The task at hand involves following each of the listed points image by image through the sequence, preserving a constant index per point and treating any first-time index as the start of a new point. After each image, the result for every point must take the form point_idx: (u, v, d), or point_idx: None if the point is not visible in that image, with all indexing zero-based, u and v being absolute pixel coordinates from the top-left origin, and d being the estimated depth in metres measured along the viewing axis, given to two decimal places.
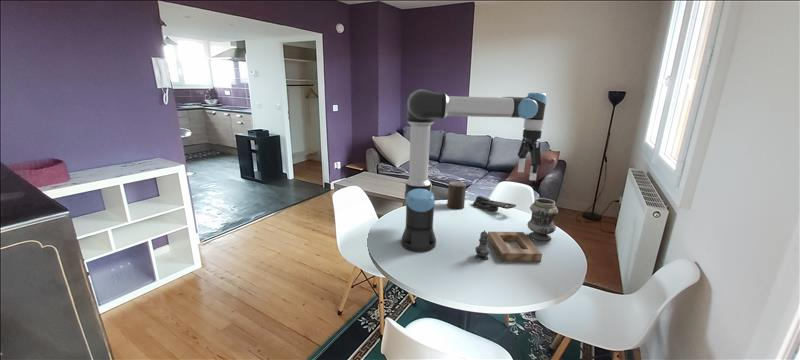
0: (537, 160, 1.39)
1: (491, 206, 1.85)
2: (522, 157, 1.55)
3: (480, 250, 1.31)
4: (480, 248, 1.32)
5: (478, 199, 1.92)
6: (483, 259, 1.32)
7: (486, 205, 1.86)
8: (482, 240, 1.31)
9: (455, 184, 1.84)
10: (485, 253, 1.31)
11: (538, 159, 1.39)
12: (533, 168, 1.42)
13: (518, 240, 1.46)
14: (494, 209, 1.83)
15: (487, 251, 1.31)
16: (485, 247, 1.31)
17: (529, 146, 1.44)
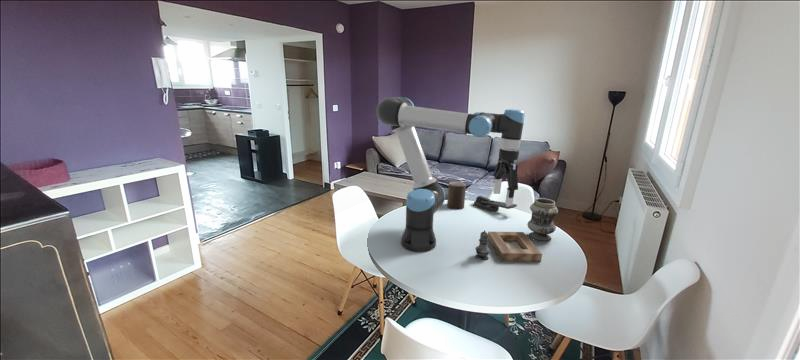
0: (514, 184, 1.26)
1: (492, 206, 1.85)
2: (498, 178, 1.43)
3: (480, 250, 1.31)
4: (480, 248, 1.32)
5: (478, 199, 1.92)
6: (483, 259, 1.32)
7: (487, 205, 1.86)
8: (482, 240, 1.31)
9: (455, 184, 1.84)
10: (485, 253, 1.31)
11: (515, 183, 1.27)
12: (509, 192, 1.29)
13: (518, 240, 1.46)
14: (495, 209, 1.83)
15: (487, 251, 1.31)
16: (485, 247, 1.31)
17: (505, 168, 1.31)
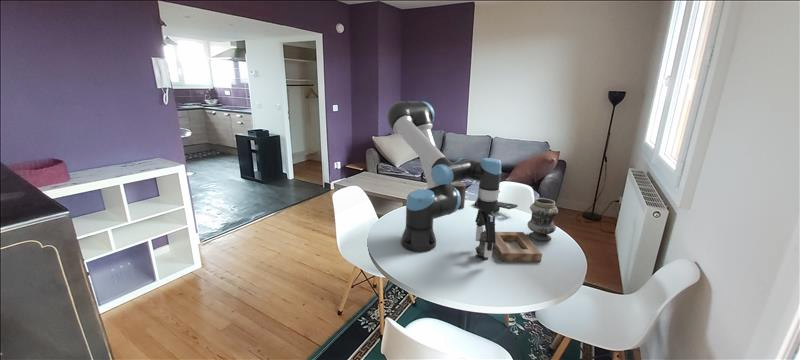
0: (491, 237, 1.21)
1: None
2: (480, 225, 1.38)
3: (480, 250, 1.31)
4: (480, 248, 1.32)
5: None
6: (483, 259, 1.32)
7: None
8: (482, 240, 1.31)
9: (455, 184, 1.84)
10: None
11: (492, 236, 1.21)
12: (487, 245, 1.24)
13: (518, 240, 1.46)
14: None
15: None
16: None
17: (484, 218, 1.26)
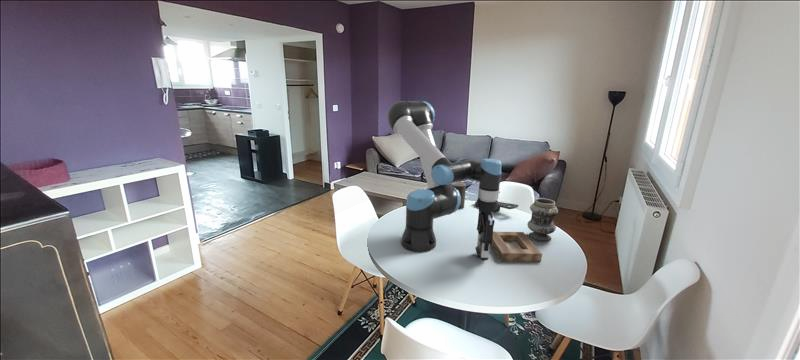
0: (488, 239, 1.25)
1: None
2: None
3: (480, 250, 1.31)
4: (480, 248, 1.32)
5: None
6: (483, 259, 1.32)
7: None
8: (482, 240, 1.31)
9: (455, 184, 1.84)
10: None
11: (489, 238, 1.25)
12: (484, 245, 1.28)
13: (518, 240, 1.46)
14: None
15: None
16: None
17: (483, 219, 1.27)
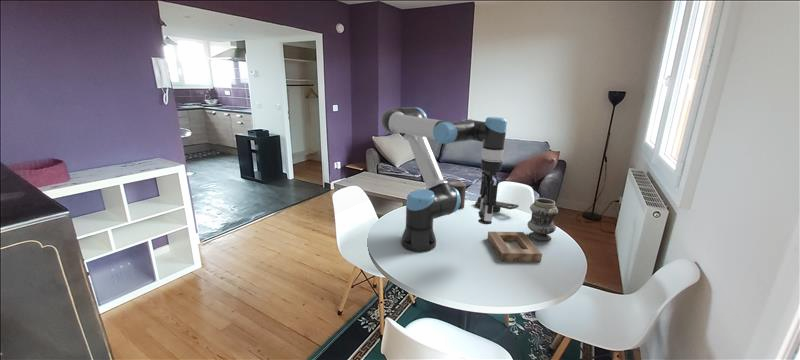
0: (492, 200, 1.21)
1: (493, 207, 1.84)
2: None
3: (483, 213, 1.27)
4: (483, 212, 1.28)
5: (480, 200, 1.91)
6: (486, 223, 1.28)
7: None
8: (485, 203, 1.27)
9: (455, 184, 1.84)
10: None
11: (493, 199, 1.21)
12: (487, 208, 1.24)
13: (518, 240, 1.46)
14: (496, 210, 1.82)
15: None
16: None
17: (487, 181, 1.23)
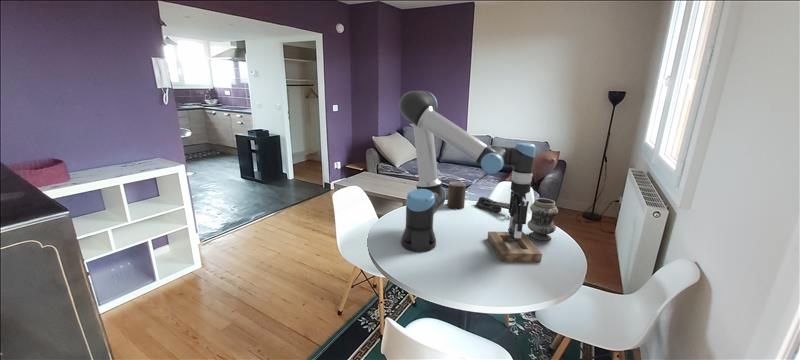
0: (522, 220, 1.30)
1: (494, 207, 1.84)
2: None
3: (513, 231, 1.37)
4: (513, 229, 1.37)
5: (481, 200, 1.91)
6: (516, 240, 1.38)
7: (489, 206, 1.85)
8: (515, 221, 1.36)
9: (455, 184, 1.84)
10: None
11: (523, 219, 1.30)
12: (517, 226, 1.34)
13: None
14: (497, 210, 1.81)
15: None
16: None
17: (517, 201, 1.33)
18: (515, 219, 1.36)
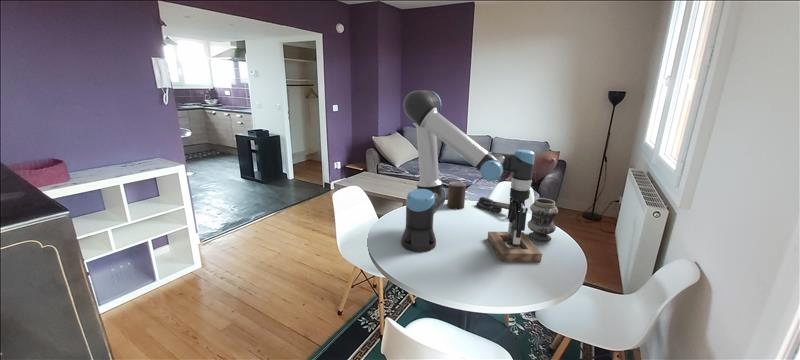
0: (521, 226, 1.31)
1: (494, 207, 1.83)
2: None
3: (512, 237, 1.38)
4: (512, 235, 1.38)
5: (481, 200, 1.90)
6: (515, 246, 1.38)
7: (489, 206, 1.85)
8: (514, 227, 1.37)
9: (455, 184, 1.84)
10: None
11: (522, 225, 1.31)
12: (516, 232, 1.35)
13: None
14: (498, 210, 1.81)
15: None
16: None
17: (516, 208, 1.33)
18: (514, 225, 1.37)
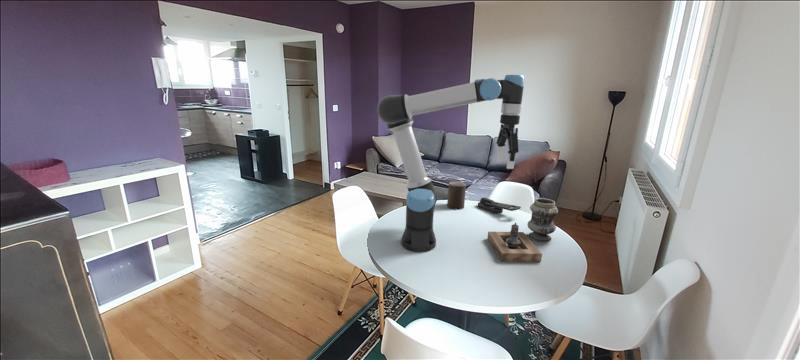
0: (514, 147, 1.29)
1: (495, 208, 1.82)
2: (501, 145, 1.46)
3: (511, 241, 1.38)
4: (511, 240, 1.39)
5: (482, 201, 1.90)
6: None
7: (490, 207, 1.84)
8: (513, 232, 1.38)
9: (455, 184, 1.84)
10: (516, 244, 1.38)
11: (515, 146, 1.29)
12: (510, 156, 1.32)
13: None
14: (498, 211, 1.80)
15: (518, 242, 1.38)
16: (516, 239, 1.39)
17: (506, 132, 1.34)
18: (513, 230, 1.38)
